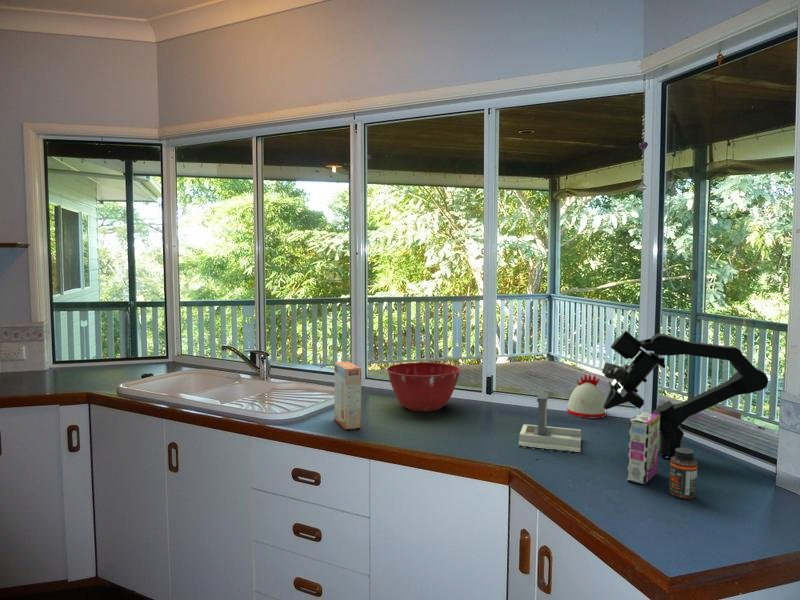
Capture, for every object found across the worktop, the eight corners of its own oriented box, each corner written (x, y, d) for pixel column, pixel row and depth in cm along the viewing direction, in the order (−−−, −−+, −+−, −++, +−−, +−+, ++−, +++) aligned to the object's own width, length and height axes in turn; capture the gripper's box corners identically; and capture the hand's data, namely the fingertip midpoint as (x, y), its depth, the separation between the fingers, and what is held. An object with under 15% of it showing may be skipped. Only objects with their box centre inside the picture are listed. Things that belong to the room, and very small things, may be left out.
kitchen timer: (608, 419, 202) (610, 378, 201) (569, 417, 205) (570, 376, 204) (602, 409, 216) (604, 371, 215) (565, 407, 219) (566, 369, 218)
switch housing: (580, 439, 180) (581, 428, 180) (580, 453, 167) (580, 441, 167) (523, 433, 186) (523, 423, 185) (518, 446, 172) (519, 435, 172)
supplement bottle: (663, 492, 139) (665, 447, 139) (681, 488, 141) (683, 444, 141) (683, 501, 134) (685, 455, 133) (701, 498, 136) (703, 452, 135)
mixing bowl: (378, 401, 227) (378, 363, 226) (443, 396, 236) (444, 359, 235) (398, 420, 200) (399, 377, 199) (472, 414, 209) (472, 373, 208)
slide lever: (551, 433, 180) (552, 393, 179) (549, 441, 172) (550, 399, 171) (535, 431, 182) (535, 391, 181) (532, 439, 174) (533, 397, 173)
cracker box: (362, 428, 190) (362, 367, 188) (344, 430, 188) (344, 368, 186) (350, 417, 203) (350, 360, 201) (333, 419, 201) (333, 361, 199)
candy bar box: (646, 486, 143) (648, 423, 142) (626, 481, 146) (628, 419, 145) (658, 473, 151) (661, 413, 150) (639, 469, 155) (641, 410, 153)
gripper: (608, 343, 174) (575, 381, 178) (629, 366, 157) (593, 408, 160) (635, 363, 176) (603, 400, 180) (660, 388, 158) (623, 428, 162)
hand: (604, 408), depth 170 cm, fingers closed
